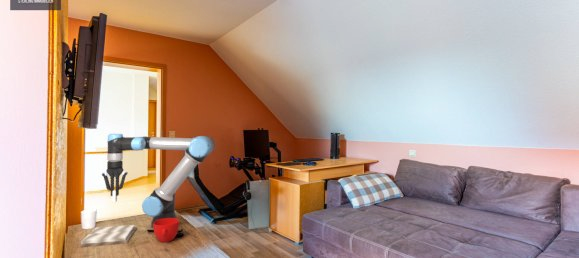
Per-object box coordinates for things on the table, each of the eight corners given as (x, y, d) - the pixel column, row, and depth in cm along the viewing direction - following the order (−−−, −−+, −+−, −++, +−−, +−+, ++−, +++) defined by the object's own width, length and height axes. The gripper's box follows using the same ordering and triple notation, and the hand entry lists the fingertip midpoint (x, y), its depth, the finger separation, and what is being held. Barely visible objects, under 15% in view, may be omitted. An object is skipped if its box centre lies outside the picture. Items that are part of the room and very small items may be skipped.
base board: (136, 229, 174) (136, 224, 174) (127, 243, 153) (127, 238, 153) (94, 232, 167) (94, 227, 167) (78, 247, 146) (78, 242, 146)
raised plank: (134, 227, 173) (134, 224, 173) (130, 233, 163) (130, 230, 163) (95, 230, 167) (95, 227, 167) (89, 236, 157) (89, 233, 157)
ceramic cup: (149, 248, 146) (149, 228, 146) (155, 236, 162) (155, 218, 162) (176, 246, 150) (177, 227, 150) (180, 234, 166) (180, 217, 166)
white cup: (98, 224, 180) (98, 208, 180) (94, 229, 173) (94, 212, 173) (83, 225, 178) (83, 209, 178) (78, 230, 170) (78, 213, 170)
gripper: (129, 159, 173) (128, 199, 173) (104, 160, 169) (103, 200, 169) (126, 161, 165) (125, 202, 165) (99, 161, 162) (99, 204, 162)
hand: (114, 201), depth 167 cm, fingers closed
